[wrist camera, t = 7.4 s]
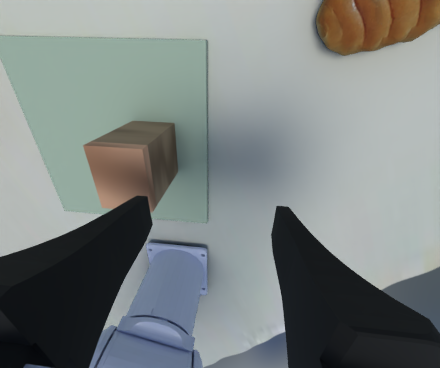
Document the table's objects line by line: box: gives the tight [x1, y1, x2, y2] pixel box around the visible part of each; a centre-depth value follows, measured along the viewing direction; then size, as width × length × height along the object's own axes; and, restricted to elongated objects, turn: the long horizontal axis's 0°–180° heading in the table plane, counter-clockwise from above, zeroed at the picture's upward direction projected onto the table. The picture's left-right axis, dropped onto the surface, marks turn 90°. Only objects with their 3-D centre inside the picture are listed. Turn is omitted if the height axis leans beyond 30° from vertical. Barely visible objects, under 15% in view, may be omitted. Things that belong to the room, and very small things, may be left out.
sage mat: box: [0, 36, 208, 223], centre depth 21 cm, size 18×18×1 cm
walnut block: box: [83, 121, 178, 212], centre depth 18 cm, size 5×4×7 cm
